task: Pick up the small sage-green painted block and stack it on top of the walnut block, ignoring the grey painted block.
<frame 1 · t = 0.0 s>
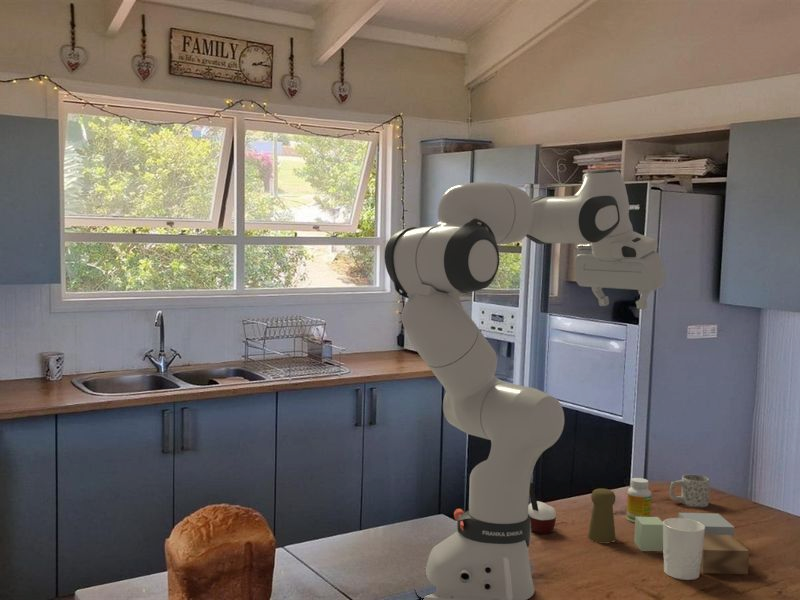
hand: (622, 306, 174), 52 cm above the worktop, tool tilted 20°, fingers open, 8 cm apart
cork: (601, 539, 181), on the worktop
grey block: (704, 541, 181), on the worktop
supplement bottle: (638, 520, 194), on the worktop
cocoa: (540, 532, 185), on the worktop
mug: (688, 504, 208), on the worktop
walnut block: (716, 566, 167), on the worktop
white cup: (681, 574, 162), on the worktop
sage block: (649, 547, 176), on the worktop
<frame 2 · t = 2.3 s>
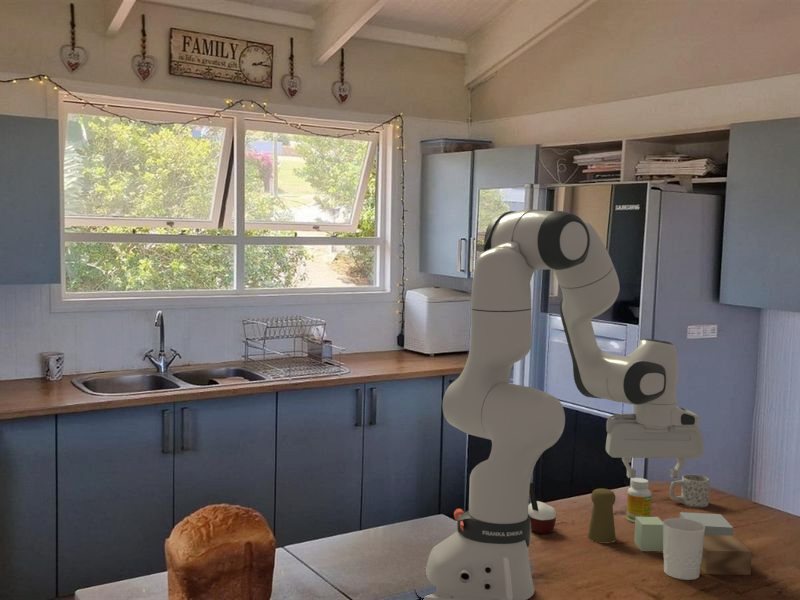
hand: (652, 477, 175), 15 cm above the worktop, tool pointing down, fingers open, 8 cm apart
nothing on the worktop moved.
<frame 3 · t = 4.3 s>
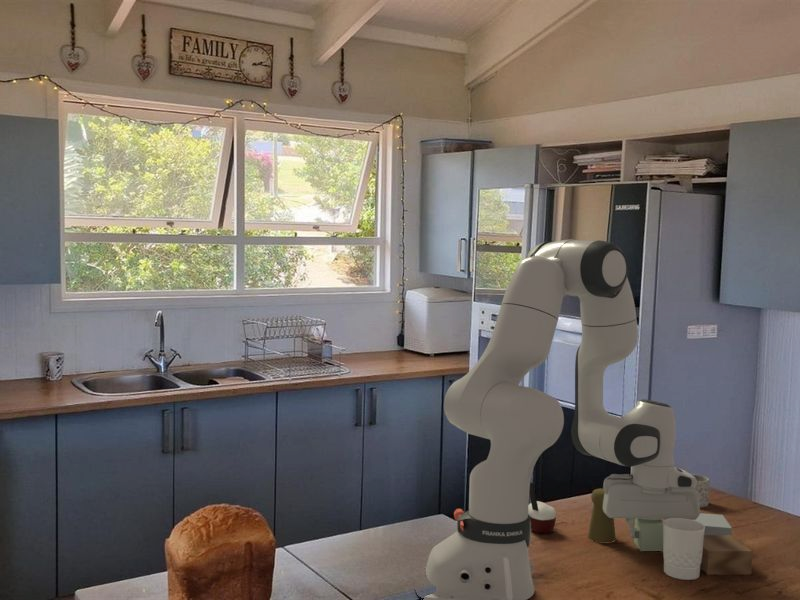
hand: (649, 537, 176), 2 cm above the worktop, tool pointing down, fingers closed on sage block, 5 cm apart
sage block: (648, 547, 176), on the worktop, touching gripper
everything else where it was.
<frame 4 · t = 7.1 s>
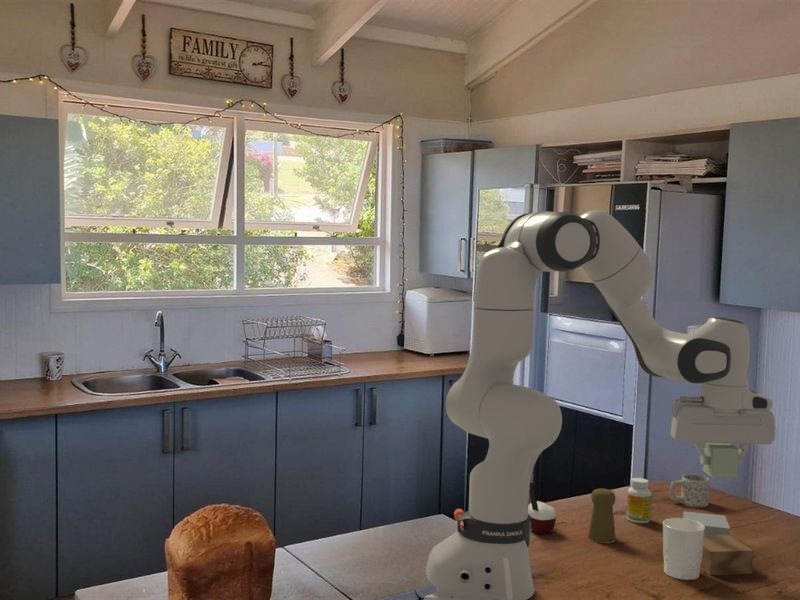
hand: (720, 464, 166), 21 cm above the worktop, tool pointing down, fingers closed on sage block, 5 cm apart
sage block: (720, 474, 166), point 19 cm above the worktop, touching gripper
everything else where it was.
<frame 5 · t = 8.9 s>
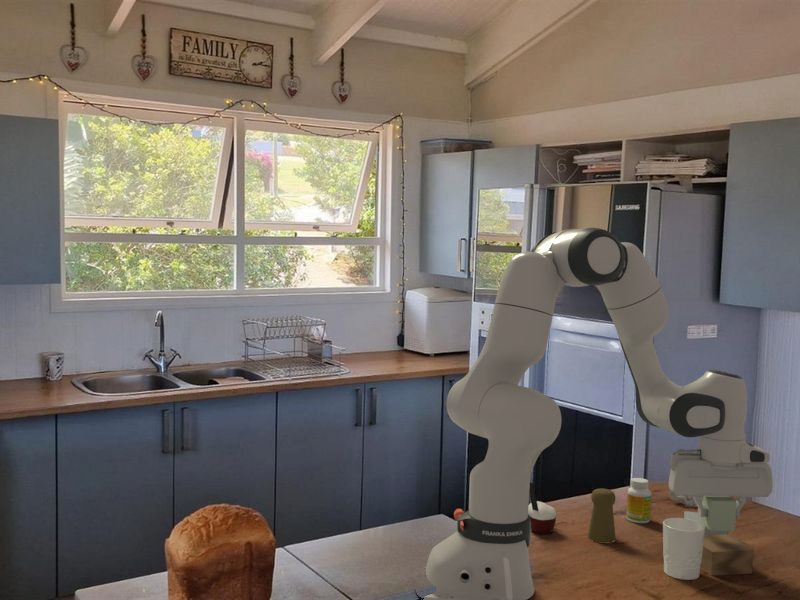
hand: (718, 516, 167), 10 cm above the worktop, tool pointing down, fingers closed on sage block, 5 cm apart
sage block: (717, 526, 167), point 8 cm above the worktop, touching gripper
when the fingers open (8 cm above the worktop, at t = 10.2 s): sage block drops 1 cm, point 5 cm above the worktop.
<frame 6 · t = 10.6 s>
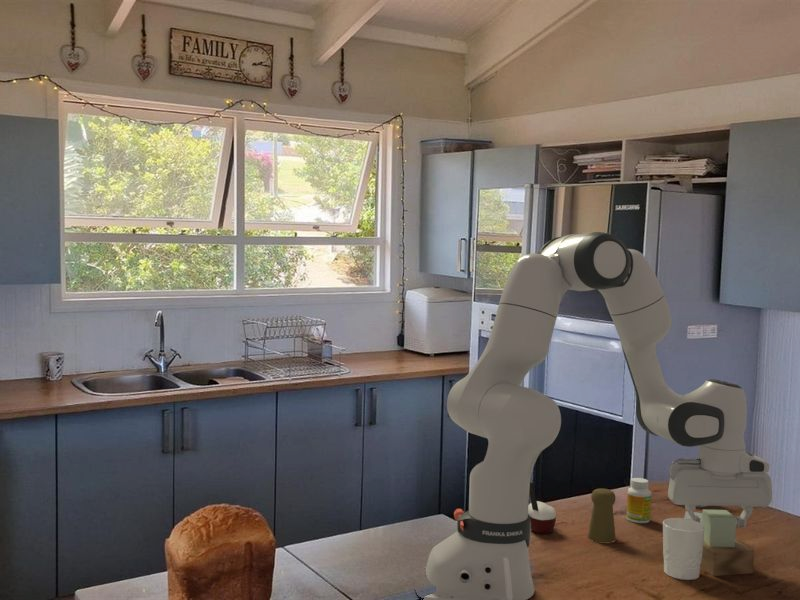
hand: (717, 526, 167), 8 cm above the worktop, tool pointing down, fingers open, 8 cm apart
sage block: (717, 542, 167), point 5 cm above the worktop
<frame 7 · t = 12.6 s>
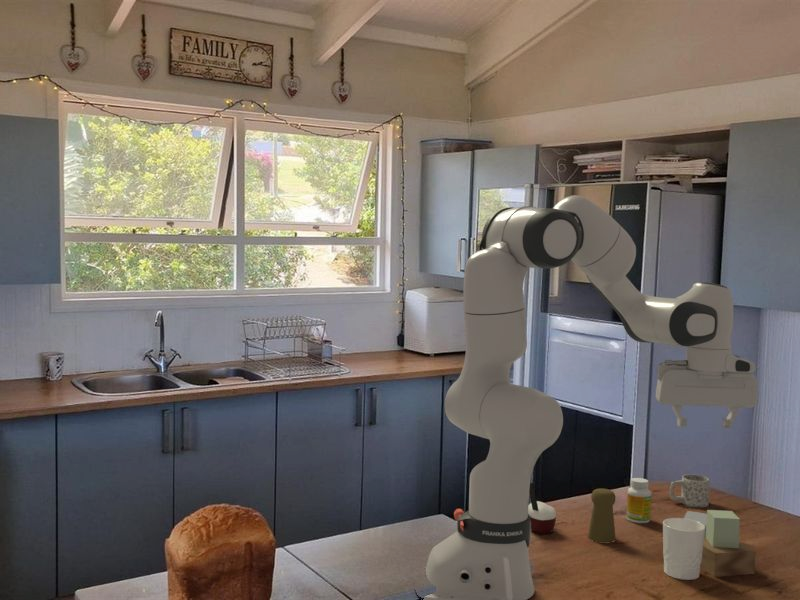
hand: (704, 427, 169), 28 cm above the worktop, tool pointing down, fingers open, 8 cm apart
walnut block: (720, 567, 166), on the worktop, touching sage block
sage block: (721, 543, 166), point 5 cm above the worktop, touching walnut block
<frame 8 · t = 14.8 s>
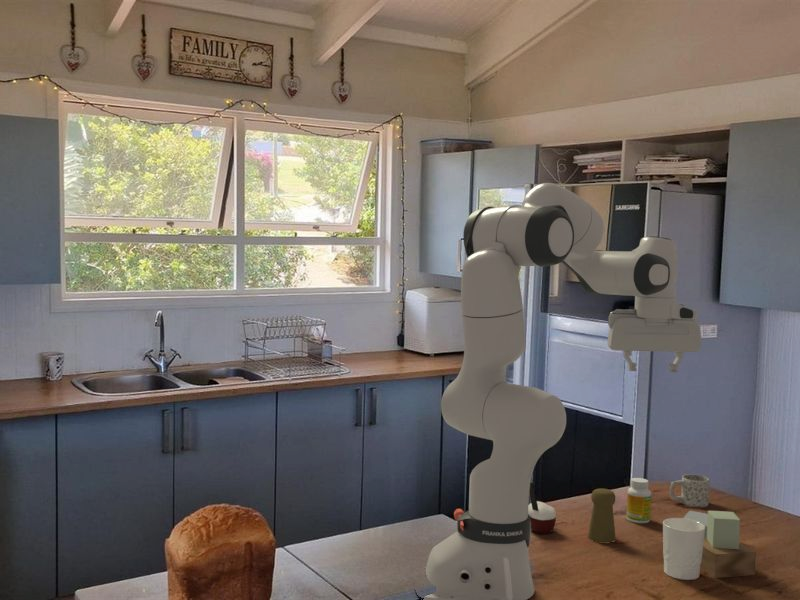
hand: (652, 371, 183), 37 cm above the worktop, tool pointing down, fingers open, 8 cm apart
at the end: sage block 0.6 cm off-centre on the walnut block, point 5.0 cm above the walnut block's base; sage block tilted 0°; the gripper is holding nothing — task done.
